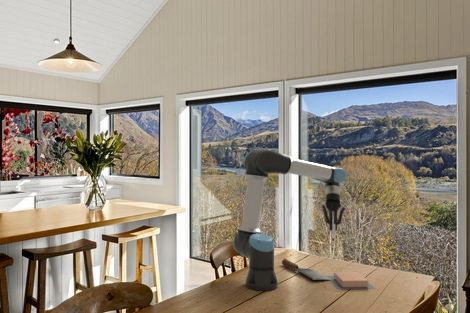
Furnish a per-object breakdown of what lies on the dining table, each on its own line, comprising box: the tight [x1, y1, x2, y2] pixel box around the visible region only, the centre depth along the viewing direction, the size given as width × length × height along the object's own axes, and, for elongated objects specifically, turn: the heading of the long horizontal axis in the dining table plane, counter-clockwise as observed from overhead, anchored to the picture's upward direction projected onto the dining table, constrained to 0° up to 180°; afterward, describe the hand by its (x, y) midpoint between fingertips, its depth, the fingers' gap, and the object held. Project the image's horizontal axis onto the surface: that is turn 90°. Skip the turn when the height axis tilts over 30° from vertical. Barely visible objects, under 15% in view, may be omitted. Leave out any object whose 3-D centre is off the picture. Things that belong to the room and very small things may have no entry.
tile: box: [333, 271, 369, 288], centre depth 187 cm, size 12×3×14 cm
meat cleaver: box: [281, 258, 332, 281], centre depth 205 cm, size 34×11×4 cm, turn 20°
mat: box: [325, 275, 376, 290], centre depth 189 cm, size 18×20×1 cm
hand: (333, 236), depth 206 cm, fingers closed
